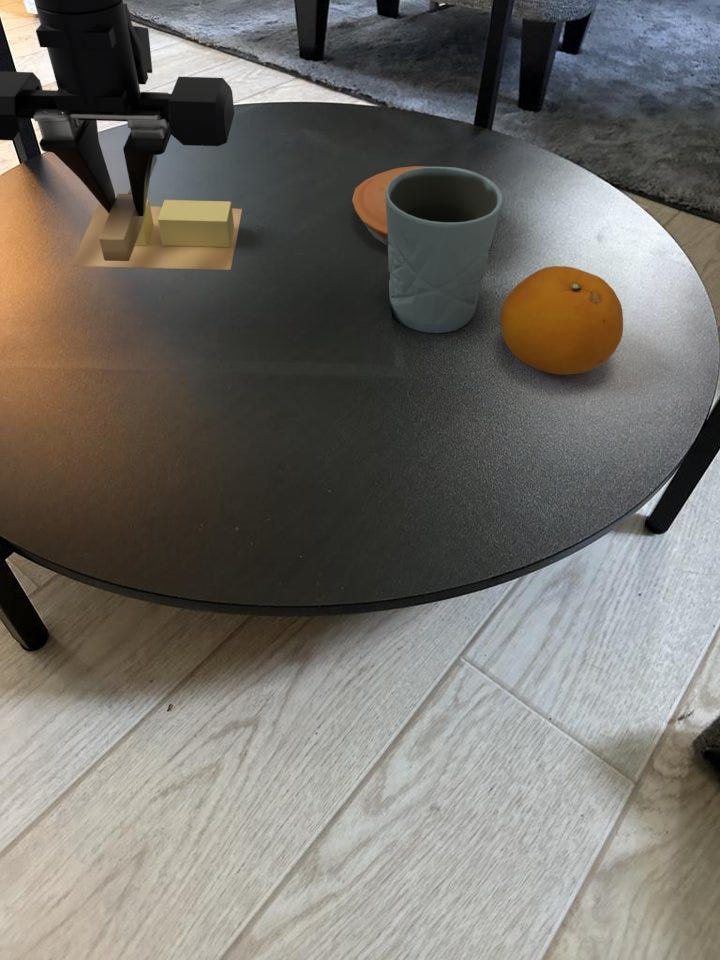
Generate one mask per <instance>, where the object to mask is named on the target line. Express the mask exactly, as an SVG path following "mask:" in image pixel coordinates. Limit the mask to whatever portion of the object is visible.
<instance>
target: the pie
mask: <svg viewBox="0 0 720 960" xmlns="http://www.w3.org/2000/svg"><path fill="white" fill-rule="evenodd" d="M422 167H426V166H423V165H413V166H412V165H411V166H403V167H397V168H396V167H395V168H392V169H389V170H386V171H383V172H380V173H377V174H375V175H373V176H371V177H369V178H367V179H365V180H363V182H361V183H360V184H359V185H358V186H356V187H355V188H354V192H353V195H352V199H351V202H352V204H353V208H354V211H355V212H356V214H357V216H358V217H359V218H360V220H361V221H362V222H363V224H364V225H365V227H366V228H367V230H368V231H369V232H370V234H371V235H372V237H374V239H376V240H378V241H379V242H380V243H382V244H383V245H385V246H388V245H389V242H388V233H387V216H386V198H385V193H386V189H387V187H388V185H389V183H390V182H391V181H392V180H393V179H394V178H395V177H396V176H398V175H400V174H402V173H404V172H406V171H410V170H413V169H417V168H422Z"/></svg>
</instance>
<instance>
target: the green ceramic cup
mask: <svg viewBox="0 0 720 960" xmlns="http://www.w3.org/2000/svg"><path fill="white" fill-rule="evenodd" d="M385 198H386V216H387V233H388V242H389V245H387V254H388V256H387V259H388V272H389V280H388V292H389V293H388V294H389V295H388V296H389V302H390V311H391V313H392V315H393V317H394V318H395V319H396V320H397V321H398V322H400V323H401V324H402V325H404V326H406V327H407V328H410V329H412V330H415V331H418V332H421V333H422V332H423V333H429V334H431V333H432V334H443V333H451V332H455V331H457V330H459V329H462V328H463V327H464V326H466V325H467V324H469V322H470V321H471V320H472V318H473V317H474V315H475V313H476V308H477V304H478V301H479V295H480V292H481V281H482V279H483V278H484V277H485V271H486V269H487V268H486V267H487V263H488V260H489V250H490V249H491V246H492V242H493V239H494V236H495V233H496V229H497V226H498V225H497V224H498V221H499V218H500V214H501V210H502V206H503V202H504V200H503V199H504V198H503V194H502V192H501V190H500V188H499V187H498V185H497V184H495V182H493V181H492V180H490V179H489V178H488V177H486V176H485V175H482V174H480V173H477V172H475V171H472V170H469V169H464V168H460V167H454V166H425V167H422V168H417V169H413V170H410V171H406V172H404V173H402V174H400V175H398V176H396V177H395V178H394V179H393V180H392V181H391V182H390V183H389V185H388V187H387V189H386V193H385Z"/></svg>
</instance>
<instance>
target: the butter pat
mask: <svg viewBox="0 0 720 960" xmlns="http://www.w3.org/2000/svg"><path fill="white" fill-rule="evenodd" d="M150 206H151V204H150V199H148V198H147V203H146V210H145V214H146V216H145V219H144V221H143V224H142V227H141V230H140V232H139V235H138V238H137V241H136V243H135V245H147V244H148V241H149V238H150V235H151V232H152V229H153V226H154V223H153V218H152V213H151V208H150Z"/></svg>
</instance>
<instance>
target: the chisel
mask: <svg viewBox="0 0 720 960" xmlns="http://www.w3.org/2000/svg"><path fill="white" fill-rule="evenodd" d="M157 161H158V158H157V155H154V157H153V161H152V166H151V173H150V178H151V177H152V175H153V172H154V170H155V167H156V164H157ZM115 197H116V199H115V201H114V204H113V206H112V208H111V211H110V213H109V215H108V218H107V220H106V222H105V225H104V227H103V229H102V232H101V234H100V237H99V242H100V246H101V250H102V253H103V257H104V260H105V261H129V260H130V257H131V254H132V252H133V249H134V246H135V243H136V241H137V238H138V235H139V232H140V230H141V227H142V224H143V221H144V219H145V216H146V214H145V213H144V216H139V215H138V213H137V210H136V208H135V205H134V202H133V197H132V192H131V187H130V186H129V189H128V192H127V193H117V195H116V196H115Z"/></svg>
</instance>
